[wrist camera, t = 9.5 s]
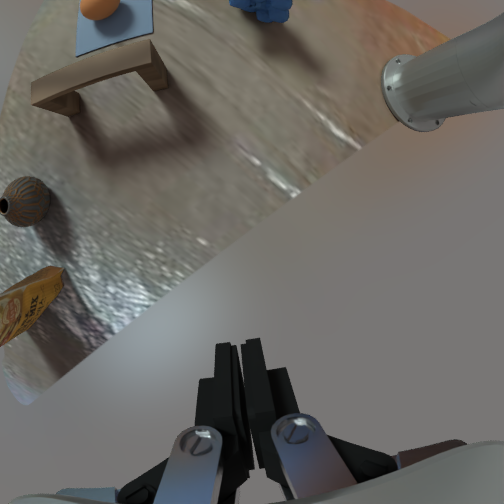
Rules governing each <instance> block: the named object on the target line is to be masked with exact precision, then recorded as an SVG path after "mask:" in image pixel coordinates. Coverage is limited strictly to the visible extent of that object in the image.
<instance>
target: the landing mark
mask: <svg viewBox="0 0 504 504" xmlns="http://www.w3.org/2000/svg"><path fill="white" fill-rule="evenodd" d="M80 2H81V0H80ZM149 33H153V21H152V0H120V3H119V6H118V8H117V9H116V11H115V12H114V13H113V14H111V15H110V16H109V17H107V18H105V19H102V20H90V19H87V18H85V17H84V16H83V15H82V13H81V11H80V3H79V12H78V23H77V37H76V57H77V56H80V55H82V54H85V53H88V52H90V51H93V50H96V49H99V48H102V47H104V46H107V45H111V44H114V43H117V42H120V41H123V40H127V39H130V38H134V37H138V36H141V35H145V34H149Z"/></svg>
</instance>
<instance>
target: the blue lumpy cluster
mask: <svg viewBox="0 0 504 504" xmlns="http://www.w3.org/2000/svg"><path fill="white" fill-rule="evenodd" d="M229 3H230V5H231V6H233V7H237V8H241V9H242V10H244V11H248V12H256V16H257V19H258V20H260V21H262V22H269V23H271V22H273V21H275V22H278V23H284V22H286V21H287V20H288V18H289V9H290V8H291V6H292V0H229Z"/></svg>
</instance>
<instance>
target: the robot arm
mask: <svg viewBox="0 0 504 504" xmlns="http://www.w3.org/2000/svg"><path fill="white" fill-rule="evenodd" d="M381 86H382V92H383V95H384V98H385V101H386V103H387V105H388V107H389V108H390V110H391V111H392V113H393V114H394V115H395V117H396V118H397V119H398V120H399V121H400V122H401V123H403V124H404V125H405V126H407V127H408V128H410V129H413V130H415V131H419V132H428V131H433V130H435V129H437V128H439V127H440V126H441V125H442V124H443V122H444V120H445V119H446V118H448V117H453V116H459V115H465V114H471V113H477V112H484V111H491V110H498V109H504V13H502V14H501V15H499V16H497V17H496V18H494V19H493V20H491V21H489V22H487V23H485V24H483V25H481V26H479V27H477V28H475V29H473V30H471V31H469V32H466V33H464V34H462V35H460V36H458V37H456V38H454V39H451V40H449V41H447V42H445V43H443V44H441V45H439V46H437V47H435V48H433V49H431V50H429V51H427V52H425V53H423V54H421V55H419V56H417V57H416V56H412V55H406V54H403V55H398V56H396V57H394V58H392V59H391V60H389V61H388V62H387V64H386V65H385V67H384V69H383V71H382V76H381ZM241 353H242V365H243V376H244V382H243V377H242V372H241V367H240V361H239V356H238V351H237V346H236V345H233V346H231V344H230V342H227V343H219V344H216V349H215V368H214V369H215V370H214V377H213V378H204V379H200V380H199V387H198V396H197V406H196V417H195V426H194V427H190V428H188V429H186V430H184V431H182V432H181V433H180V434H179V435H178V436H177V438H176V440H175V442H174V445H173V448H172V451H171V454H170V457H169V458H167V459H166V460H164V461H163V462H161V463H160V464H158V465H157V466H155V467H153V468H152V469H150V470H149V471H147V472H146V473H144V474H143V475H141V476H139V477H138V478H136V479H134V480H133V481H131V482H129V483H128V484H126V485H125V486H124V487H123V488H122V489H118V490H117V489H116V488H115V487H108V488H107V487H106V488H67V489H62V490H60V491H58V492H57V493H56V494H29V495H24V496H20V497H17V498H15V499H13V500H12V501H11V502H10V503H9V504H239V496H240V485H242V484H243V483H244V482H245V481H246V480H247V478H250V476H249V470H253V469H255V467H254V458H253V450H252V440H251V434H252V438H253V443H254V447H255V451H256V455H257V460H258V464H259V468H260V469H261V468H265V470H266V475H267V477H268V478H270V479H272V480H274V481H275V482H278V483H279V487H280V490H281V492H282V494H283V497H284V499H285V501H283V502H276V503H269V504H504V442H503V441H484V442H478V443H472V444H467V443H465V442H463V441H462V440H457V439H454V440H448V441H444V442H440V443H436V444H433V445H429V446H424V447H420V448H415V449H411V450H406V451H400V452H398V454H397V455H394V456H389V455H387V454H385V453H382V452H378V451H375V450H372V449H368V448H365V447H362V446H359V445H356V444H352V443H349V442H346V441H343V440H340V439H337V438H335V437H332V436H329V435H326V433H325V431H324V430H323V428H322V427H321V425H320V423H319V422H318V421H317V420H316V419H315V418H314V417H312V416H310V415H307V414H303V413H300V412H299V409H298V405H297V402H296V399H295V395H294V392H293V389H292V385H291V382H290V379H289V376H288V373H287V369H286V367H284V368H278V369H272V370H266V366H265V361H264V355H263V351H262V346H261V341H260V338H255V339H248V340H246V344H241ZM244 386H245V387H244ZM250 429H251V431H250Z"/></svg>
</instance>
